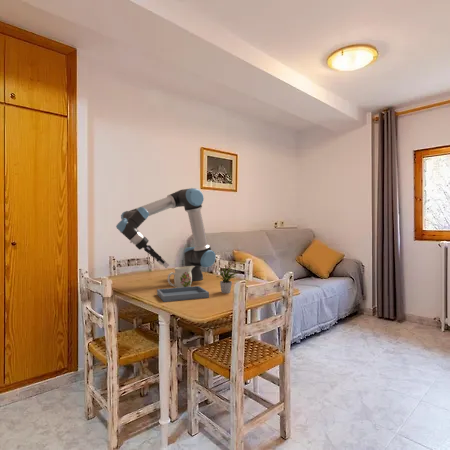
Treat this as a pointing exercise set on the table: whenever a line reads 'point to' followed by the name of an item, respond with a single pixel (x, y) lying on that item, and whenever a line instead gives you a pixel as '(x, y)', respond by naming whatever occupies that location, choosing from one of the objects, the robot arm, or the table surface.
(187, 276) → the pitcher
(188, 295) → the tray
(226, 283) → the house plant
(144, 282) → the table surface
